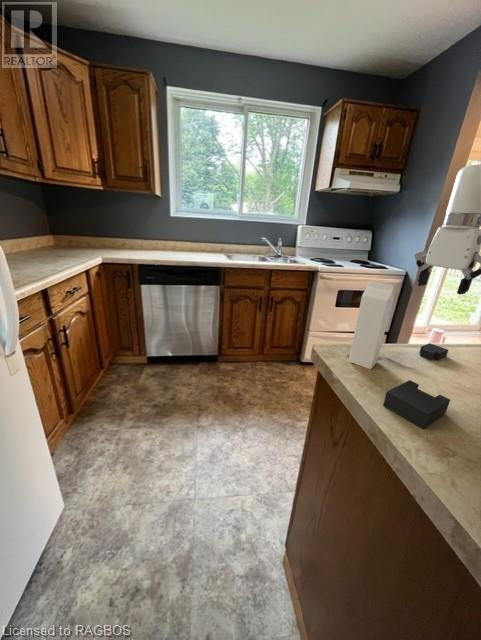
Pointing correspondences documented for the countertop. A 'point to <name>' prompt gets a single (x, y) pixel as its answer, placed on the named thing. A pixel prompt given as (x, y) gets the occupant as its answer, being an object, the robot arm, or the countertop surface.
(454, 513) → the countertop surface
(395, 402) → the black notched block
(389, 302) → the milk
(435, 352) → the black rectangular block
